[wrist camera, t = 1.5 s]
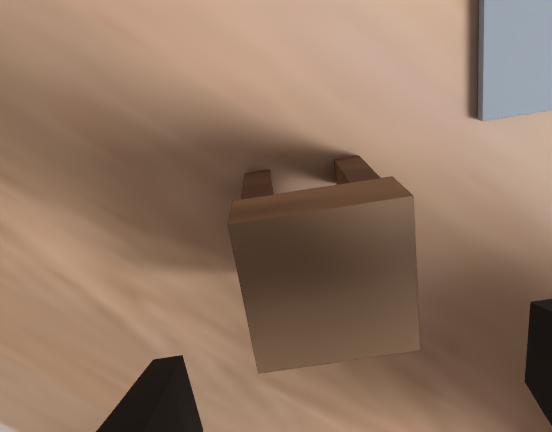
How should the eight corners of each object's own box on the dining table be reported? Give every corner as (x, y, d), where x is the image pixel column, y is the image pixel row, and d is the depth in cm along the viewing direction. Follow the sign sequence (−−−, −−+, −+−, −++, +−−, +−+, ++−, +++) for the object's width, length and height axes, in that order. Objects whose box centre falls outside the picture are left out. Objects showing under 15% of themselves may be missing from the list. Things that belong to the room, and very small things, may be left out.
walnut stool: (373, 262, 19) (419, 350, 13) (259, 279, 19) (258, 373, 13) (363, 150, 17) (413, 196, 11) (239, 169, 17) (227, 224, 12)
